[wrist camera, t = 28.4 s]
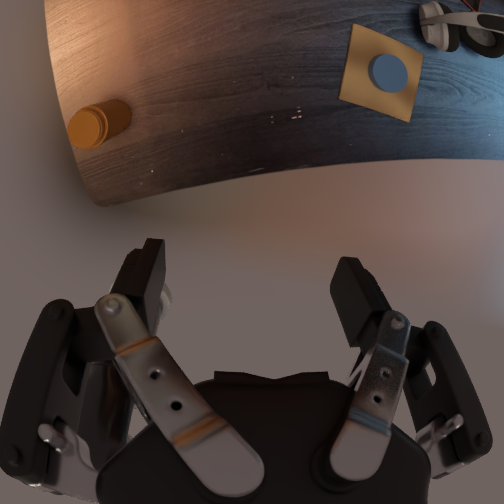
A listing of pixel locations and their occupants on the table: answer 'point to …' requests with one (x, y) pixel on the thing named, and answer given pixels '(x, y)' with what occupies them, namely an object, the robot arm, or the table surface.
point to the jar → (98, 123)
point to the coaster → (359, 84)
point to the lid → (388, 73)
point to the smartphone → (473, 4)
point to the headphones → (462, 29)
